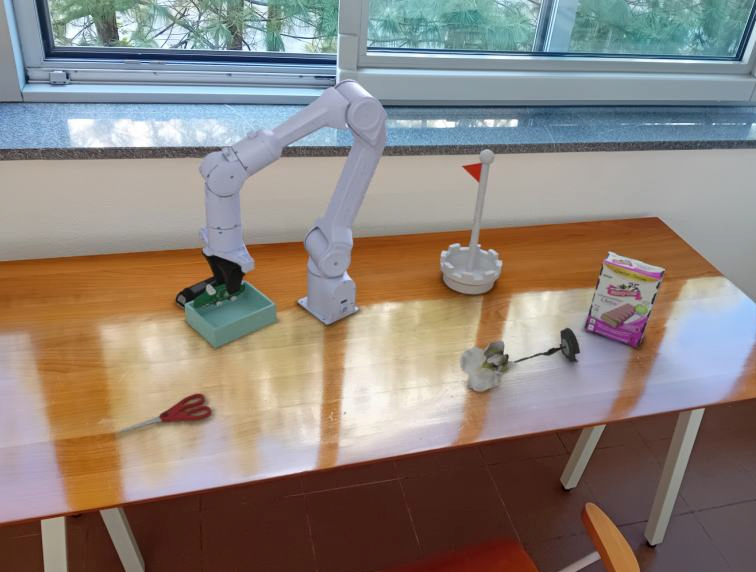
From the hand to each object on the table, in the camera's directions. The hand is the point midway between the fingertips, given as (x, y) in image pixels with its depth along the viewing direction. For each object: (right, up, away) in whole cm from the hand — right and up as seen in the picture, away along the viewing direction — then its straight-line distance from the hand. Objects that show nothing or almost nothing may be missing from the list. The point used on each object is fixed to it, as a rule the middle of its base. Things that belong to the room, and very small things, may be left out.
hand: (228, 287), depth 132 cm
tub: (-1, -6, +5) cm, 8 cm away
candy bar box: (+73, -10, +14) cm, 75 cm away
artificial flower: (+53, -15, +1) cm, 55 cm away
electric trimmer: (-7, -1, +13) cm, 14 cm away
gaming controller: (-1, -3, +1) cm, 3 cm away
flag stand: (+45, +1, +25) cm, 51 cm away
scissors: (-5, -20, -18) cm, 27 cm away
